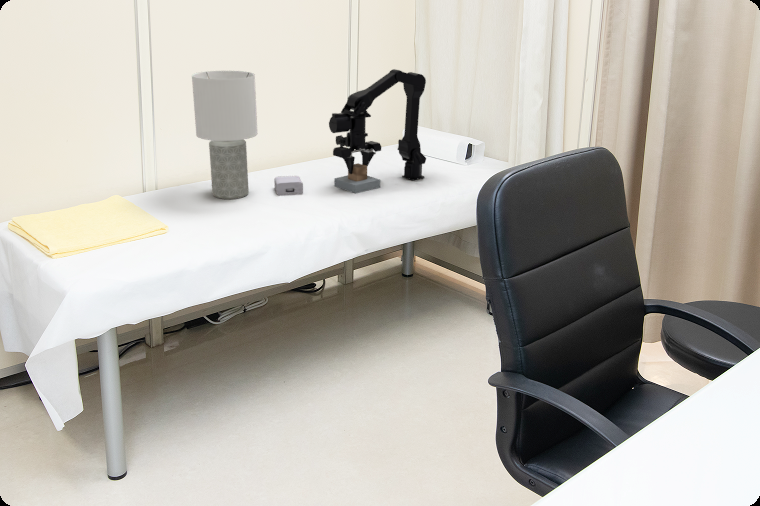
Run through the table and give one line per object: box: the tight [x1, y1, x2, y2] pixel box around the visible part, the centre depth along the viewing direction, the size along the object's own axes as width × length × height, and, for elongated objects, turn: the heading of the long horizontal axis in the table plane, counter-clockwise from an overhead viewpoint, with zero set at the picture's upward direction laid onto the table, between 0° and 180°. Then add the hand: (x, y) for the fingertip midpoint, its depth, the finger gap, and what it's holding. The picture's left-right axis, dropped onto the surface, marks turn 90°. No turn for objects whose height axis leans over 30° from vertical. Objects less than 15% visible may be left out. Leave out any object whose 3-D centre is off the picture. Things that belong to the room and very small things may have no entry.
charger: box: [274, 175, 304, 196], centre depth 269 cm, size 5×9×15 cm
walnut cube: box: [347, 162, 368, 181], centre depth 272 cm, size 5×5×5 cm
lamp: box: [191, 70, 258, 200], centre depth 255 cm, size 21×21×42 cm
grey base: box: [333, 174, 381, 194], centre depth 273 cm, size 12×12×3 cm
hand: (357, 172), depth 272 cm, fingers open, 6 cm apart
